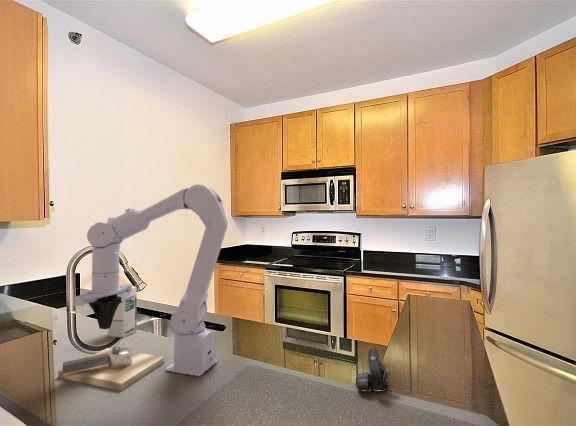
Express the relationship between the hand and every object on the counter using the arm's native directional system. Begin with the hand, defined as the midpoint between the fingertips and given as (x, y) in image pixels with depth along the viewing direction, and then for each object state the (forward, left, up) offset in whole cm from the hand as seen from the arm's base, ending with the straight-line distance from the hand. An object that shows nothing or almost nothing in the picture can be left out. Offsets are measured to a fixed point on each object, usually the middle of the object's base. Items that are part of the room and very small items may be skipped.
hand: (105, 328), depth 74 cm
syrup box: (+14, -18, -10) cm, 25 cm away
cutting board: (-3, +1, -9) cm, 10 cm away
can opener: (-63, -15, -10) cm, 65 cm away
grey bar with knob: (-3, +4, -8) cm, 9 cm away
